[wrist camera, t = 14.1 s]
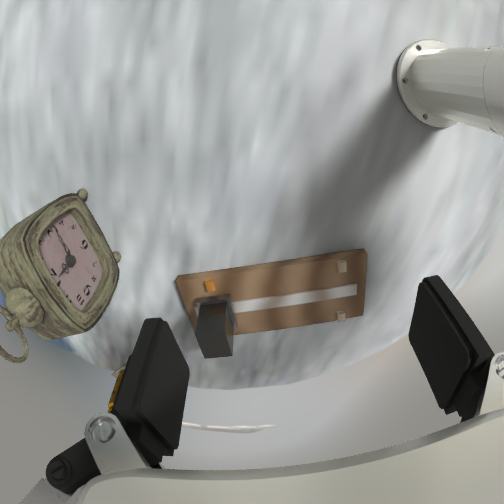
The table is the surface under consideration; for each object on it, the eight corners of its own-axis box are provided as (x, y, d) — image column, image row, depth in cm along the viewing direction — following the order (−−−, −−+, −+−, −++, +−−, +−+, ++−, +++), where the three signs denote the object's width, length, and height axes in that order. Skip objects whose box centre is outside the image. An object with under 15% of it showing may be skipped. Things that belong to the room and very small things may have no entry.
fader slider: (230, 293, 45) (227, 327, 38) (237, 323, 48) (236, 357, 41) (197, 297, 45) (190, 331, 39) (206, 326, 48) (202, 360, 42)
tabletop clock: (132, 260, 44) (65, 397, 22) (90, 275, 45) (19, 396, 24) (88, 175, 37) (-35, 275, 16) (47, 199, 39) (-63, 297, 17)
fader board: (363, 248, 44) (368, 256, 42) (360, 309, 49) (364, 318, 47) (177, 275, 45) (175, 284, 43) (198, 332, 51) (196, 341, 49)
